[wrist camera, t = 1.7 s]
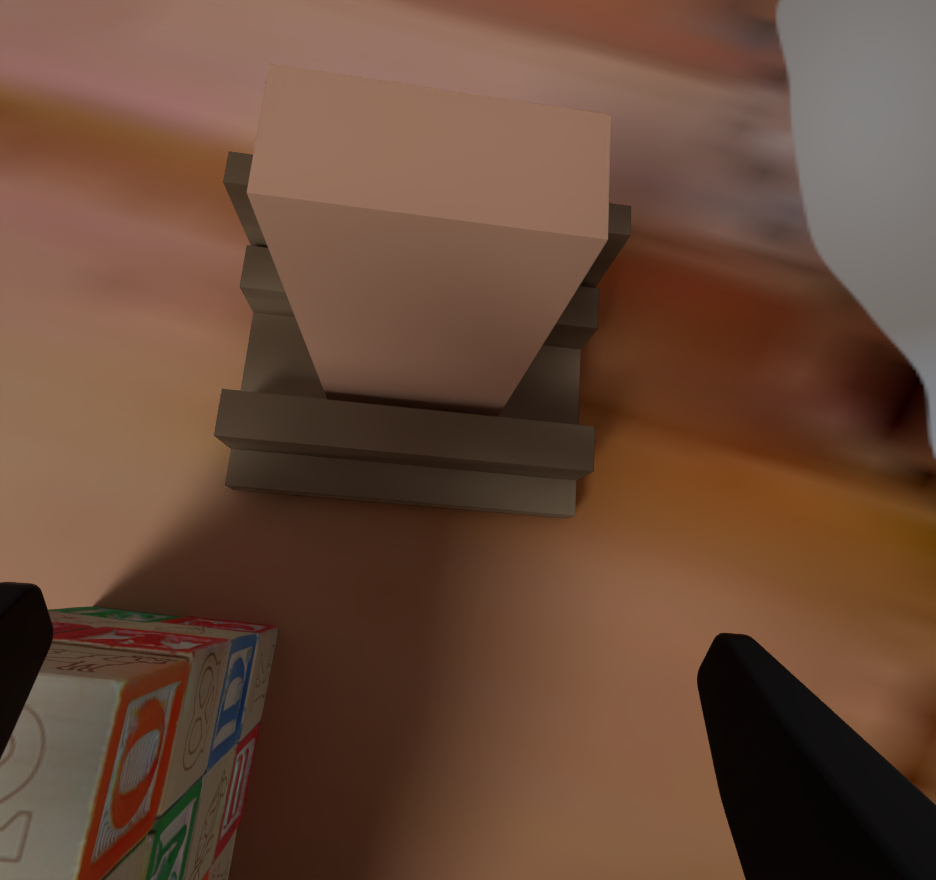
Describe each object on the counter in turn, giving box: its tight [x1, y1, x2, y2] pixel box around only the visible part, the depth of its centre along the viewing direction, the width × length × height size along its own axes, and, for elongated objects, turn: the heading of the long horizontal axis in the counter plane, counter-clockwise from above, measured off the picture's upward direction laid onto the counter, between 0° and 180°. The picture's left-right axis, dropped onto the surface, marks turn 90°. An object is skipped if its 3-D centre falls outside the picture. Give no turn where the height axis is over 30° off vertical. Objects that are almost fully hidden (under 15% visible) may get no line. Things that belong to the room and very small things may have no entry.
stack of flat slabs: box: [214, 152, 631, 518], centre depth 20 cm, size 9×12×6 cm
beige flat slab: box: [247, 64, 611, 417], centre depth 16 cm, size 2×6×12 cm, turn 85°
